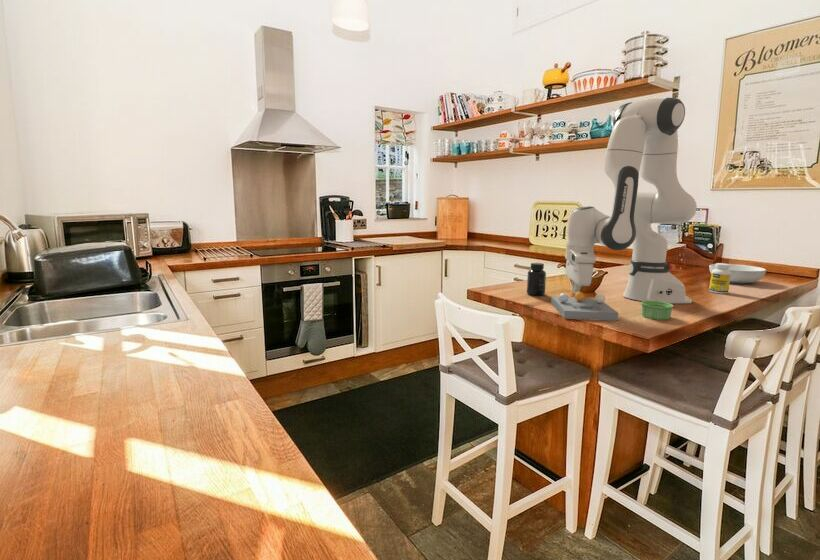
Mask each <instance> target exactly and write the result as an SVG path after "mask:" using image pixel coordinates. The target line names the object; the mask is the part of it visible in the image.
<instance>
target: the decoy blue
mask: <svg viewBox="0 0 820 560" xmlns="http://www.w3.org/2000/svg"><path fill="white" fill-rule="evenodd" d="M557 297H558V298H559V301H560V302H562V303H565V302H567V301H568V299H569V297H570V296H569V295H568V294H567V293H566V292H565V293H564V292H562V293H560V294H559V295H558V296H557Z"/></svg>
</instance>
